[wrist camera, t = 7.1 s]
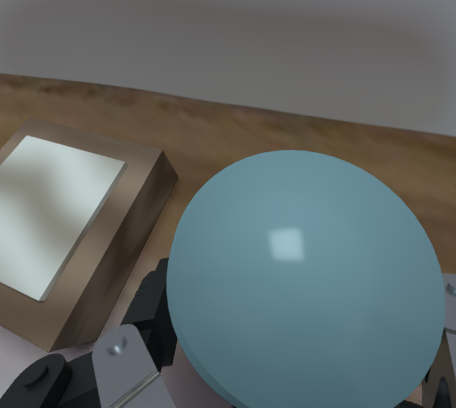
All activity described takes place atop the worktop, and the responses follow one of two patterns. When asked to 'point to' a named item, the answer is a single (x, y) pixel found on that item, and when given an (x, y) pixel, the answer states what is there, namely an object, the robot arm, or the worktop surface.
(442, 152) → the worktop surface
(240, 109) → the worktop surface
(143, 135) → the worktop surface
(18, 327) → the plinth
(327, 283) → the blue capped bottle
